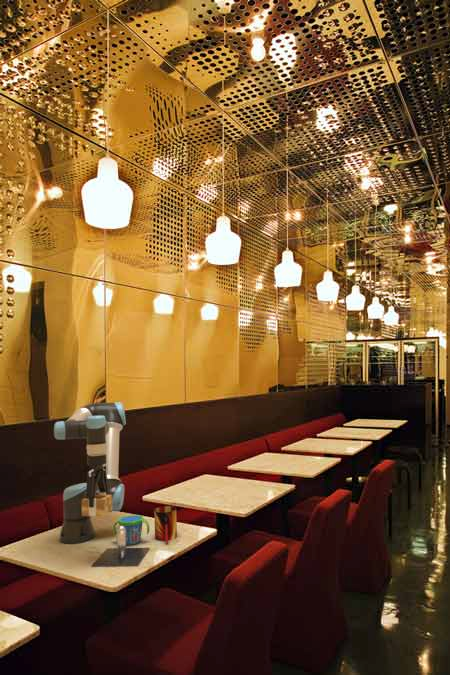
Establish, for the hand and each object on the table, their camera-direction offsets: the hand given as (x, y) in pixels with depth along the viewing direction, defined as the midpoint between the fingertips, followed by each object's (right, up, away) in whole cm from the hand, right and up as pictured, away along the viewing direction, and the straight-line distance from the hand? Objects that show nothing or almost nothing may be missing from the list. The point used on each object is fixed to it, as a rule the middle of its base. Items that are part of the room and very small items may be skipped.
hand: (97, 512), depth 186 cm
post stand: (+10, -17, -1) cm, 20 cm away
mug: (+26, -19, +19) cm, 37 cm away
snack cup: (+10, -19, +16) cm, 27 cm away
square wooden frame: (0, 0, 0) cm, 0 cm away
